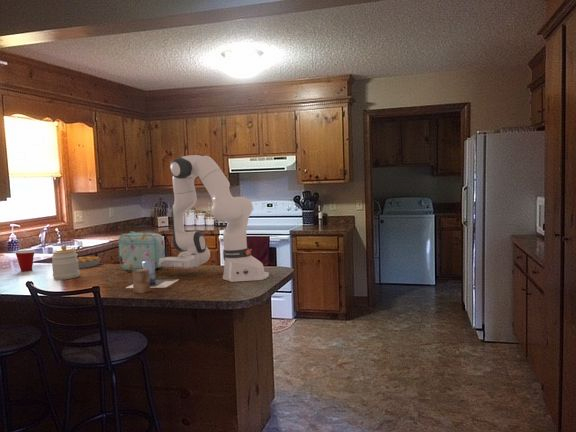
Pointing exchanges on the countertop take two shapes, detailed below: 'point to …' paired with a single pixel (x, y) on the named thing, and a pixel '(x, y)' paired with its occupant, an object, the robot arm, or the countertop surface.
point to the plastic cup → (25, 259)
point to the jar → (65, 263)
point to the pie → (88, 261)
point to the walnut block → (141, 281)
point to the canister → (150, 270)
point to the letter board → (160, 283)
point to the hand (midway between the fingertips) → (166, 265)
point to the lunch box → (140, 249)
